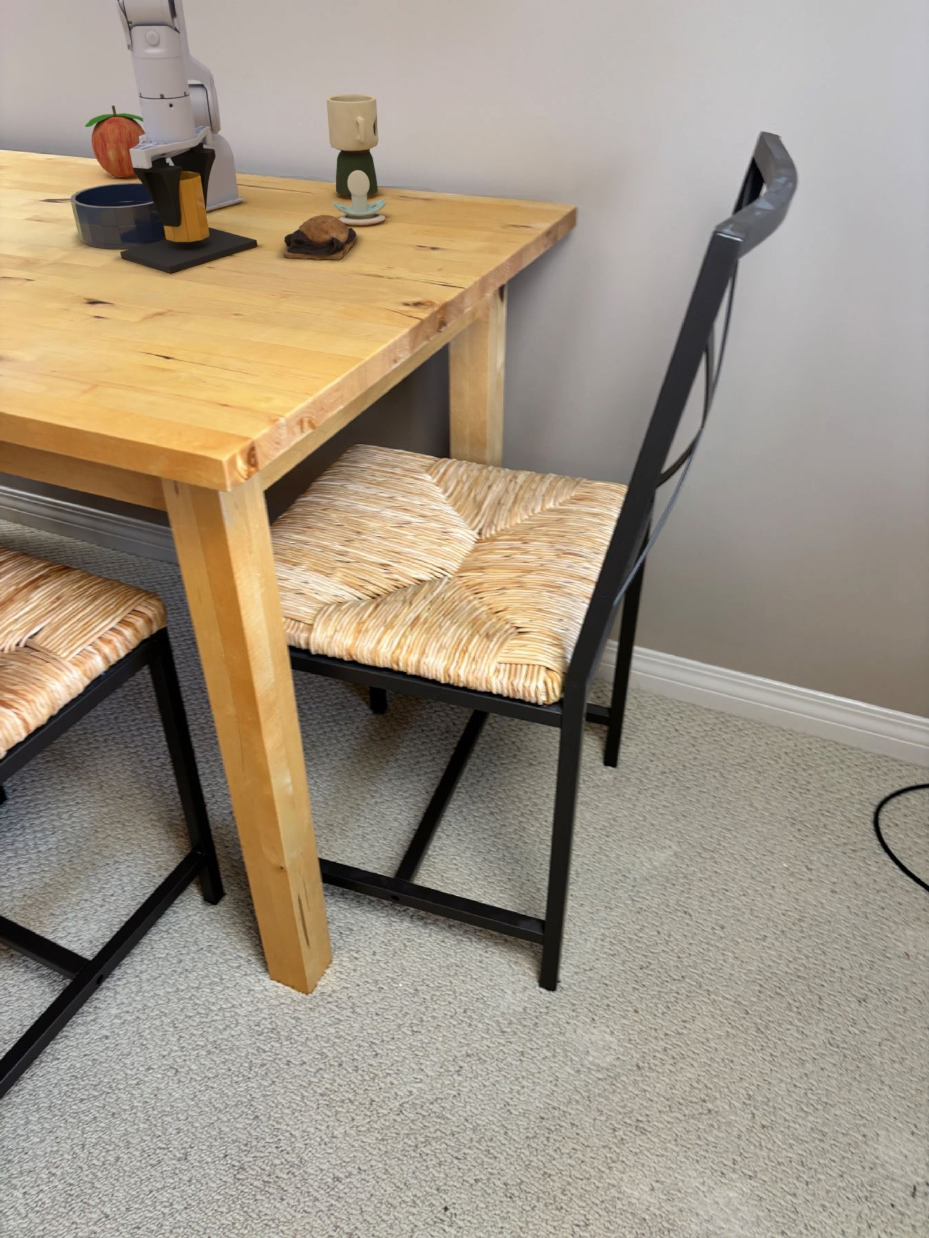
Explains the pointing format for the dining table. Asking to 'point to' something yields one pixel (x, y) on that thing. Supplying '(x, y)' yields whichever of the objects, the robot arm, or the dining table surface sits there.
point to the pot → (116, 216)
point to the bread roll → (320, 239)
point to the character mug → (353, 137)
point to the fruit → (115, 141)
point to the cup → (190, 211)
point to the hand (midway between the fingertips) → (185, 219)
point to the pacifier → (360, 202)
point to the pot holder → (188, 251)
